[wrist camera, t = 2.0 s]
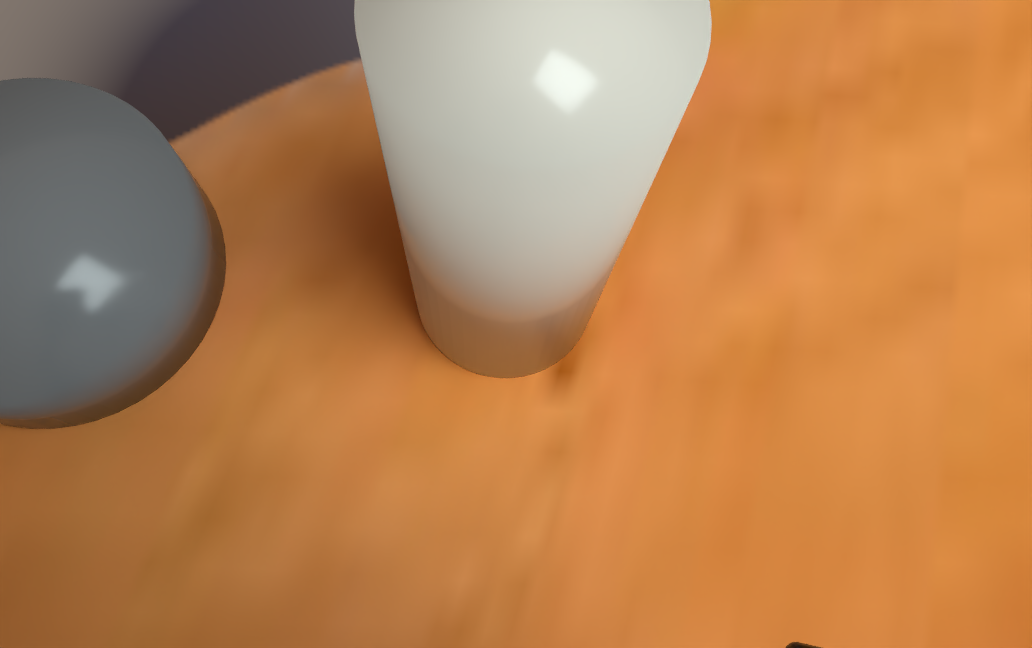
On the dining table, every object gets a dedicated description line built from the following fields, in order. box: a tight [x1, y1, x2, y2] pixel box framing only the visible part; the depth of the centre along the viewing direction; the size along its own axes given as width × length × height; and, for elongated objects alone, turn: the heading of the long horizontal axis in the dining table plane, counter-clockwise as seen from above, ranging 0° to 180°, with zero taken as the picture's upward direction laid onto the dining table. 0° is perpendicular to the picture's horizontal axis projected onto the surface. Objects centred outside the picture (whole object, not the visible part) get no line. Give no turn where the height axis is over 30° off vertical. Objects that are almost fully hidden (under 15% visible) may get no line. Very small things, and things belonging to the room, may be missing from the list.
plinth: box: [0, 78, 226, 429], centre depth 22 cm, size 9×9×3 cm
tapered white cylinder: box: [354, 0, 712, 378], centre depth 18 cm, size 5×5×12 cm
